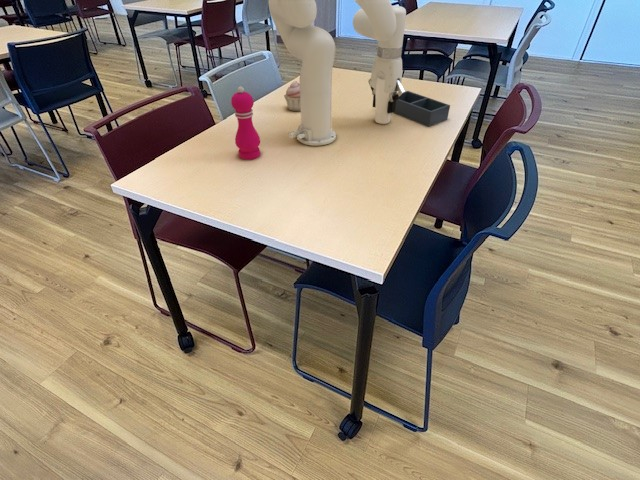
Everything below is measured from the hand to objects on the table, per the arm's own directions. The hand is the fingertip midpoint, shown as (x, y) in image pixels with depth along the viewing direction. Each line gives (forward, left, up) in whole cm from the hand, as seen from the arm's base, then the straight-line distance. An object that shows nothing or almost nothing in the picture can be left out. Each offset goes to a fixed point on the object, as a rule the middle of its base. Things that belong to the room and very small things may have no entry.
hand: (383, 108), depth 130 cm
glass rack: (+14, -3, -4) cm, 15 cm away
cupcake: (-16, +29, -5) cm, 33 cm away
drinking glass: (0, 0, -5) cm, 5 cm away
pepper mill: (-49, +7, -5) cm, 50 cm away
